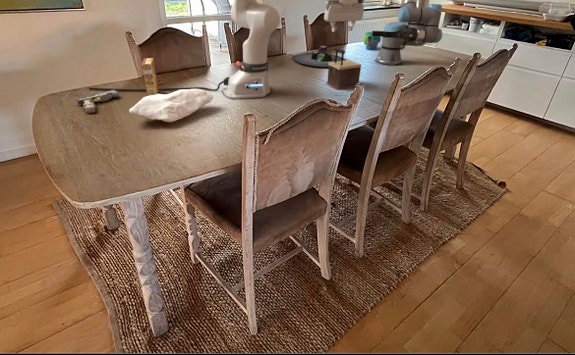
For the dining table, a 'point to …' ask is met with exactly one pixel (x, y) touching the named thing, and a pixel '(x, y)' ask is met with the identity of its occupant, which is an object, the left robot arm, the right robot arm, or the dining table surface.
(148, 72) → the candy box
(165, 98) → the crumpled cloth
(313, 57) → the dark round tray
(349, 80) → the chest
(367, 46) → the snack cup
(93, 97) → the handgun
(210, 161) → the dining table surface
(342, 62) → the lid
